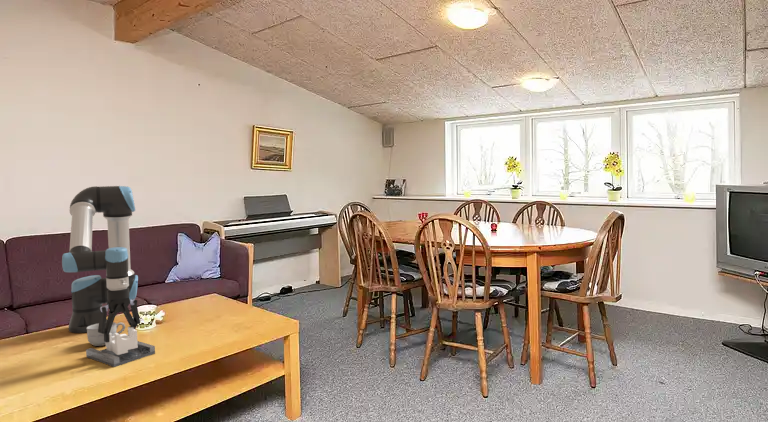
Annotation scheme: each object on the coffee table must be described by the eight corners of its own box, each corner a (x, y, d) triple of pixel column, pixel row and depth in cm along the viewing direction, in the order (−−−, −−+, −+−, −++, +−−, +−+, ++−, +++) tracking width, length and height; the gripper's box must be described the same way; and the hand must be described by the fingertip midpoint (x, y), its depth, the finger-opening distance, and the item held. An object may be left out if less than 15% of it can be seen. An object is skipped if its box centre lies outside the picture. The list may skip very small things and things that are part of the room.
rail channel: (86, 357, 188) (85, 349, 188) (127, 344, 202) (126, 337, 202) (114, 367, 178) (113, 358, 178) (155, 353, 192) (154, 346, 192)
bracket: (137, 350, 187) (136, 330, 187) (117, 354, 182) (116, 334, 182) (125, 342, 196) (124, 323, 196) (105, 346, 191) (104, 327, 191)
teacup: (86, 350, 196) (85, 330, 196) (88, 342, 206) (87, 323, 205) (125, 344, 203) (125, 325, 202) (125, 336, 212) (125, 318, 212)
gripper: (95, 295, 177) (98, 356, 179) (149, 284, 195) (151, 340, 197) (84, 292, 181) (87, 353, 183) (138, 282, 199) (140, 337, 201)
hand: (120, 346), depth 190 cm, fingers closed on bracket, 8 cm apart
